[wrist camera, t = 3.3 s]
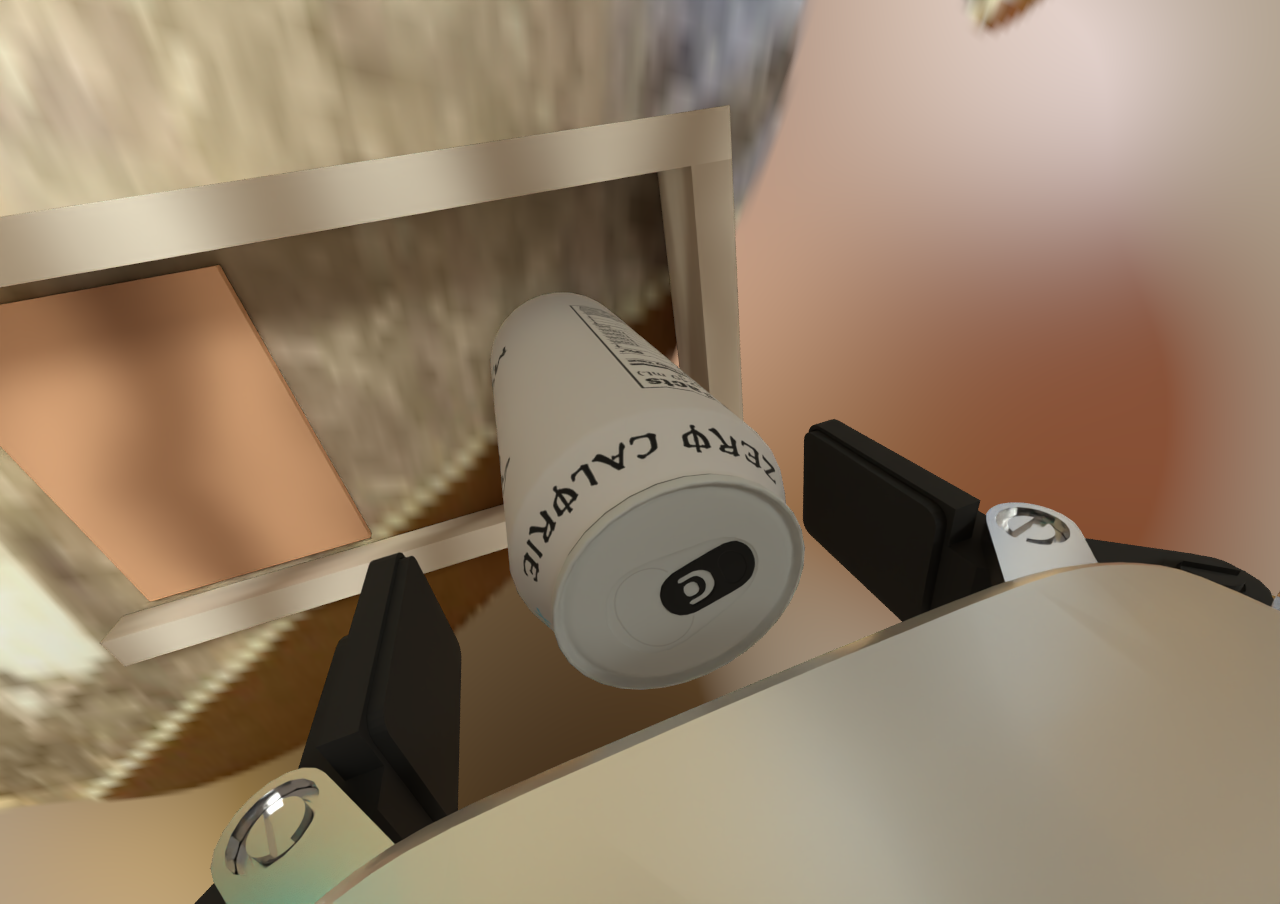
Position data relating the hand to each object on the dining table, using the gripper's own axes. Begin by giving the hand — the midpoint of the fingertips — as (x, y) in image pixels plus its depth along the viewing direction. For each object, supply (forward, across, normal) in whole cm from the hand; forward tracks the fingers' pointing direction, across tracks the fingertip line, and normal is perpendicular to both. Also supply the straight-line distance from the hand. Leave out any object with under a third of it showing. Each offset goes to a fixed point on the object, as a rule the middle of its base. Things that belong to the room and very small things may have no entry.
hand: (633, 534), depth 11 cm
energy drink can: (+12, 0, -1) cm, 12 cm away
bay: (+12, +6, -1) cm, 14 cm away
